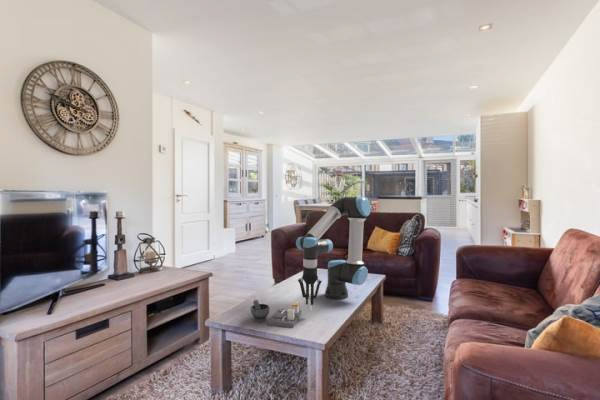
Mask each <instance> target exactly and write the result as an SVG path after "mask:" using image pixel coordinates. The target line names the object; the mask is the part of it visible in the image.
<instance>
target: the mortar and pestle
mask: <svg viewBox="0 0 600 400" xmlns="http://www.w3.org/2000/svg"><path fill="white" fill-rule="evenodd" d="M259 301H260V300H259V299H254V300H253V301H252V302H253V305H251V306H250V313H251V315H252V316H253V320H254V322H255V323H264V322H265V321H267V316H268V315H269V314H270V305H269V304H265V303H259Z"/></svg>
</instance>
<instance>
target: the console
mask: <svg viewBox="0 0 600 400" xmlns="http://www.w3.org/2000/svg"><path fill="white" fill-rule="evenodd" d="M287 310H288V309H285V308H277V310H276V312H275V313H274V314H273V315H272V316H271V317H270V318H269V320H268V326H275V327H284V328H294V327H295V326H296V325H297V322H298V321H299V320H300V318H301V316H302V310H299V312H298V314H295V318H294V320H288V312H287Z"/></svg>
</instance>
